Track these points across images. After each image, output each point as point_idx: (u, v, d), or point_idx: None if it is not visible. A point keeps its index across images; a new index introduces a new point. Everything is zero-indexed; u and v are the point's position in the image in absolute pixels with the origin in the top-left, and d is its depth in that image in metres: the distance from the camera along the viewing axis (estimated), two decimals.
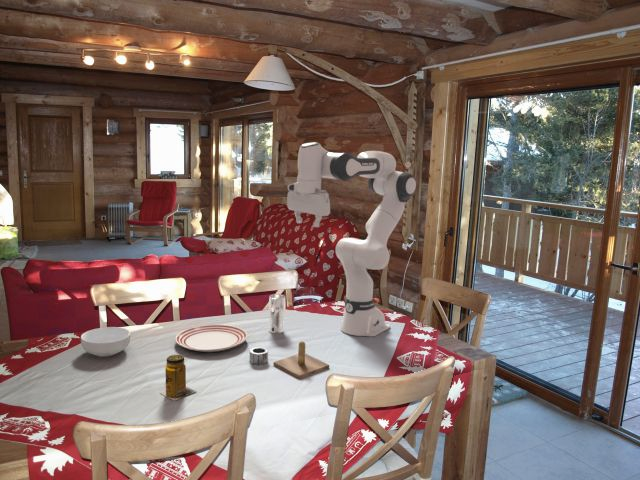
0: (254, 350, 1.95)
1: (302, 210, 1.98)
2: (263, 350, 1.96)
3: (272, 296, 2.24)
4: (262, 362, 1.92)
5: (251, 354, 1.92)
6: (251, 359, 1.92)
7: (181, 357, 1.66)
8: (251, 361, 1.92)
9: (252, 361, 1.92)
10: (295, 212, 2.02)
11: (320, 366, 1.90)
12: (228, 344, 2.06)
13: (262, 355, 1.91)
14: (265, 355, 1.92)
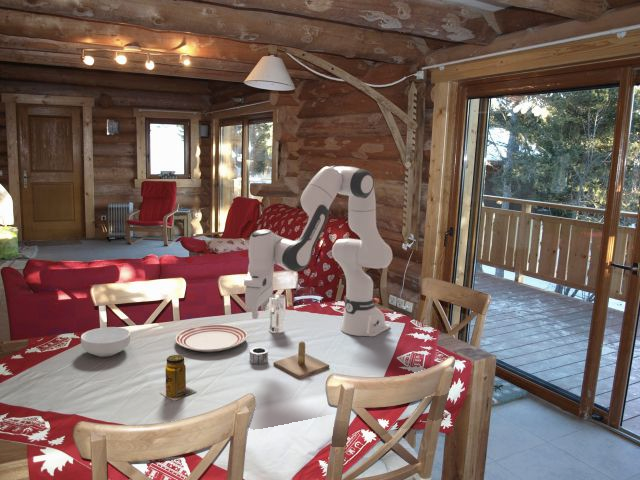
0: (254, 350, 1.95)
1: (264, 300, 1.89)
2: (263, 350, 1.96)
3: (272, 296, 2.24)
4: (262, 362, 1.92)
5: (251, 354, 1.92)
6: (251, 359, 1.92)
7: (181, 357, 1.66)
8: (251, 361, 1.92)
9: (252, 361, 1.92)
10: (257, 308, 1.84)
11: (320, 366, 1.90)
12: (228, 344, 2.06)
13: (262, 355, 1.91)
14: (265, 355, 1.92)
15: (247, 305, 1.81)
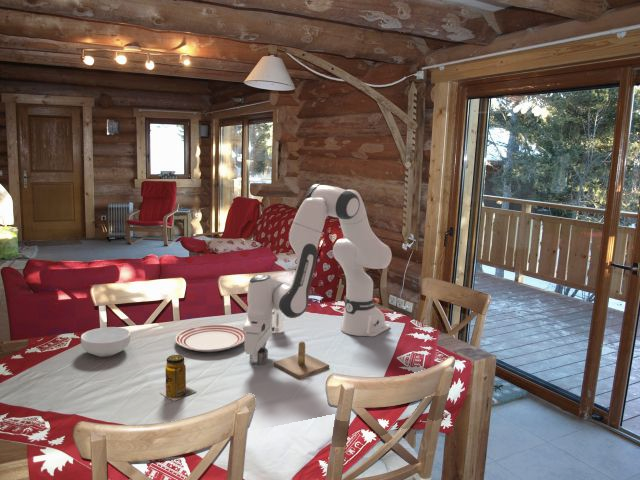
0: None
1: (263, 344, 1.92)
2: (263, 350, 1.96)
3: None
4: (262, 362, 1.92)
5: None
6: (251, 359, 1.92)
7: (181, 357, 1.66)
8: (251, 361, 1.92)
9: (252, 361, 1.92)
10: (257, 352, 1.88)
11: (320, 366, 1.90)
12: (228, 344, 2.06)
13: (262, 356, 1.91)
14: (265, 355, 1.92)
15: (246, 351, 1.84)
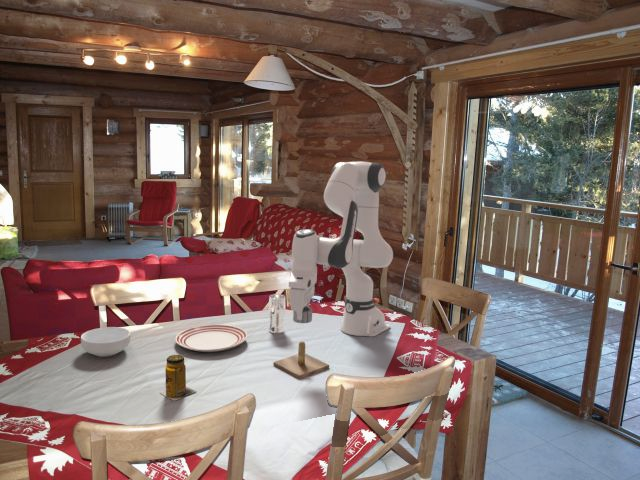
0: None
1: (307, 302, 1.85)
2: (307, 309, 1.89)
3: (272, 296, 2.24)
4: (306, 320, 1.85)
5: (295, 312, 1.85)
6: (295, 317, 1.86)
7: (181, 357, 1.66)
8: (295, 320, 1.86)
9: (296, 319, 1.86)
10: (302, 309, 1.82)
11: (320, 366, 1.90)
12: (228, 344, 2.06)
13: (307, 314, 1.85)
14: (309, 313, 1.86)
15: (292, 307, 1.77)
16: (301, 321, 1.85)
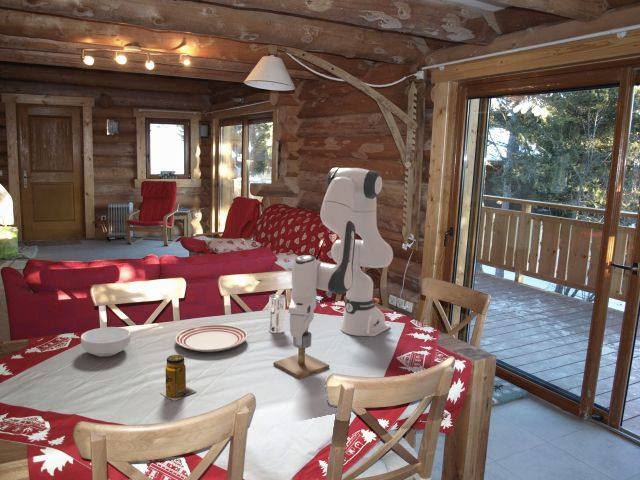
0: None
1: (306, 327, 1.87)
2: (306, 333, 1.91)
3: (272, 296, 2.24)
4: (306, 345, 1.87)
5: (295, 337, 1.87)
6: (295, 342, 1.87)
7: (181, 357, 1.66)
8: (295, 344, 1.87)
9: (296, 344, 1.87)
10: None
11: (320, 366, 1.90)
12: (228, 344, 2.06)
13: (306, 339, 1.86)
14: (309, 338, 1.87)
15: (292, 333, 1.79)
16: (301, 346, 1.86)
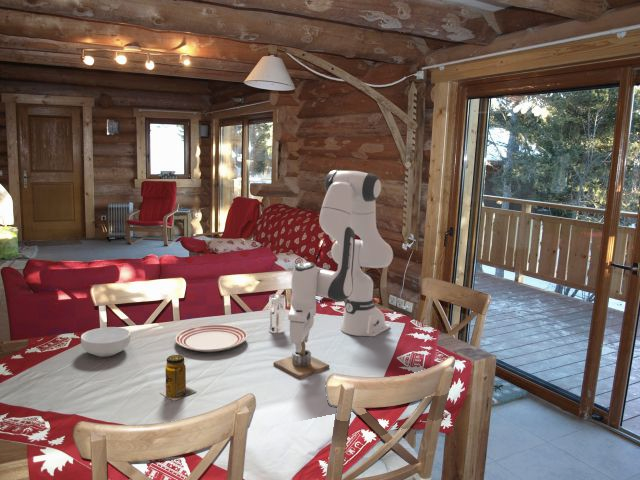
0: (296, 352, 1.92)
1: (306, 333, 1.88)
2: (306, 352, 1.92)
3: (272, 296, 2.24)
4: (305, 364, 1.88)
5: (294, 356, 1.88)
6: (294, 361, 1.89)
7: (181, 357, 1.66)
8: (294, 363, 1.89)
9: (295, 363, 1.88)
10: None
11: (320, 366, 1.90)
12: (228, 344, 2.06)
13: (306, 358, 1.88)
14: (308, 357, 1.89)
15: (292, 340, 1.79)
16: (300, 365, 1.88)
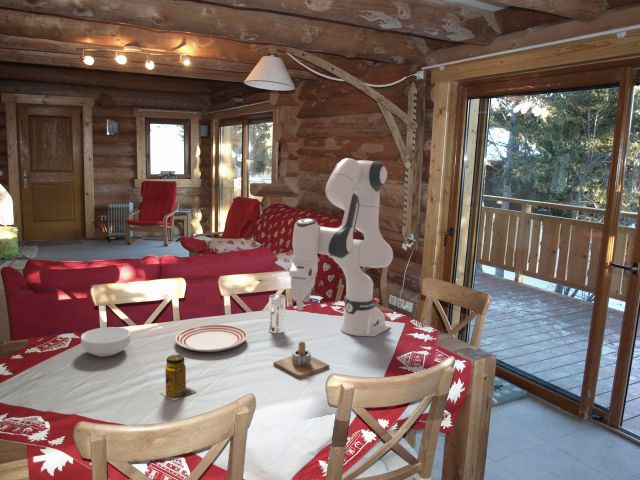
0: (296, 352, 1.92)
1: (308, 291, 1.85)
2: (306, 352, 1.92)
3: (272, 296, 2.24)
4: (305, 364, 1.88)
5: (294, 356, 1.88)
6: (294, 361, 1.89)
7: (181, 357, 1.66)
8: (294, 363, 1.89)
9: (295, 363, 1.88)
10: (302, 299, 1.80)
11: (320, 366, 1.90)
12: (228, 344, 2.06)
13: (306, 358, 1.88)
14: (308, 357, 1.89)
15: (293, 296, 1.76)
16: (300, 365, 1.88)
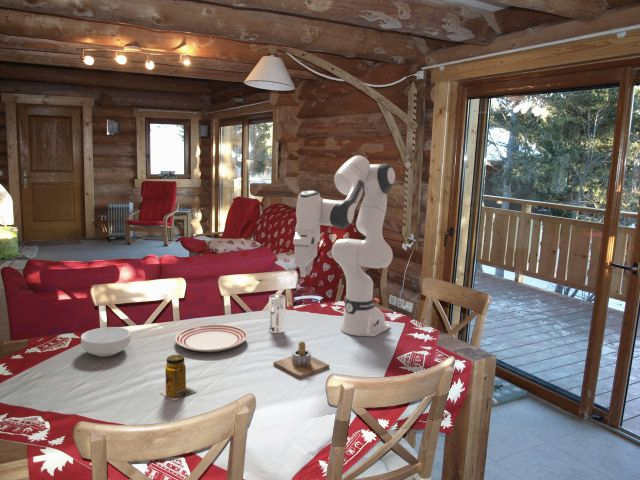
0: (296, 352, 1.92)
1: (310, 260, 1.94)
2: (306, 352, 1.92)
3: (272, 296, 2.24)
4: (305, 364, 1.88)
5: (294, 356, 1.88)
6: (294, 361, 1.89)
7: (181, 357, 1.66)
8: (294, 363, 1.89)
9: (295, 363, 1.88)
10: (305, 266, 1.90)
11: (320, 366, 1.90)
12: (228, 344, 2.06)
13: (306, 358, 1.88)
14: (308, 357, 1.89)
15: (296, 263, 1.86)
16: (300, 365, 1.88)
